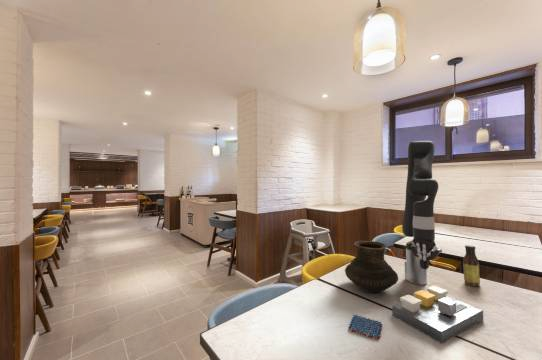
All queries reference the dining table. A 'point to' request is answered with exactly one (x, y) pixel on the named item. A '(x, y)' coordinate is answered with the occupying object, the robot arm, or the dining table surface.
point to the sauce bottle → (471, 267)
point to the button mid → (425, 297)
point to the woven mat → (366, 327)
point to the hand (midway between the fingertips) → (424, 268)
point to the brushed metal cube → (447, 306)
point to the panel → (440, 319)
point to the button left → (411, 303)
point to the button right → (437, 292)
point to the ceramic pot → (371, 268)
